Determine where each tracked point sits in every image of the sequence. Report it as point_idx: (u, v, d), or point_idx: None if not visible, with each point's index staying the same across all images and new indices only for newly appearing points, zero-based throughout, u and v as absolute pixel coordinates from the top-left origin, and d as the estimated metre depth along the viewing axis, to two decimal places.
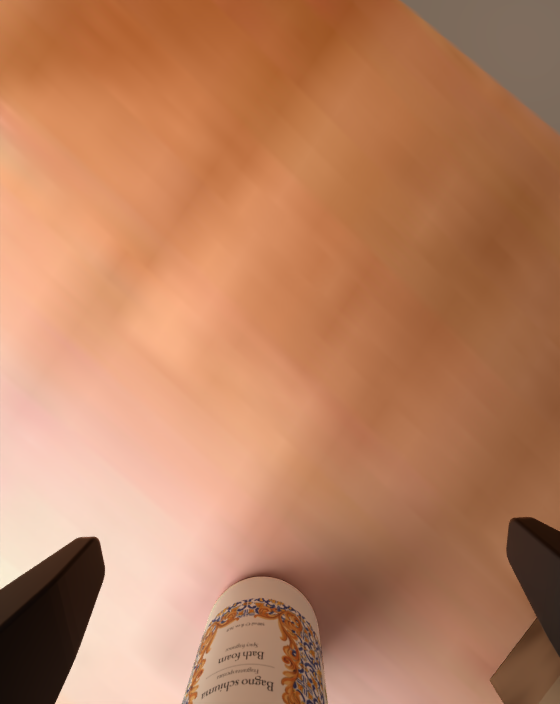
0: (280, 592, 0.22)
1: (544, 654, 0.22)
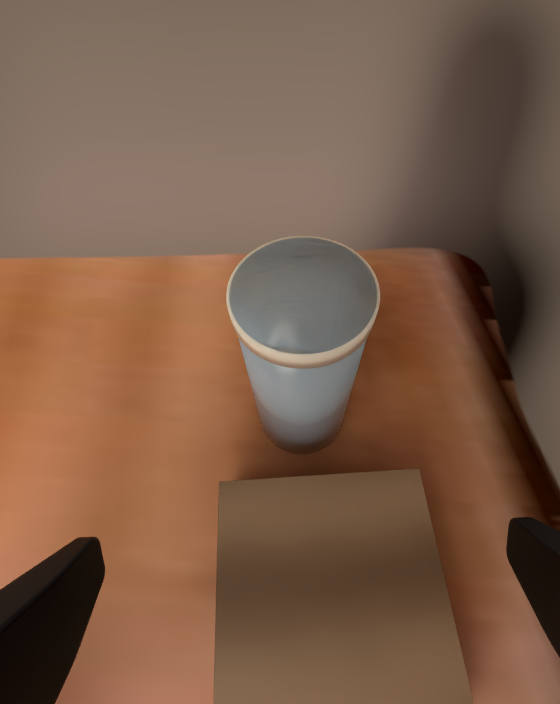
0: None
1: None
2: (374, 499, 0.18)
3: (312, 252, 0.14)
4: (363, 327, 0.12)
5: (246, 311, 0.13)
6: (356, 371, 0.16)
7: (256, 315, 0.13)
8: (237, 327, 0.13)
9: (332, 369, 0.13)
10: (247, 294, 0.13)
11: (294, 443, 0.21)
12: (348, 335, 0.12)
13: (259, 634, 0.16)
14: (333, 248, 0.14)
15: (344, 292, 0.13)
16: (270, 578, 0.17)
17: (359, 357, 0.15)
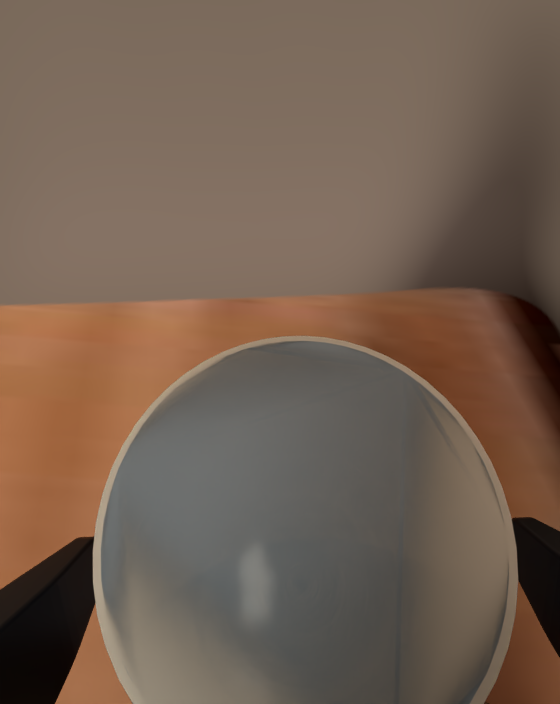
0: None
1: None
2: None
3: (321, 382, 0.06)
4: (485, 658, 0.04)
5: (141, 584, 0.05)
6: None
7: (169, 599, 0.05)
8: (108, 649, 0.04)
9: None
10: (152, 517, 0.05)
11: None
12: (444, 696, 0.04)
13: None
14: (370, 370, 0.06)
15: (413, 513, 0.05)
16: None
17: None
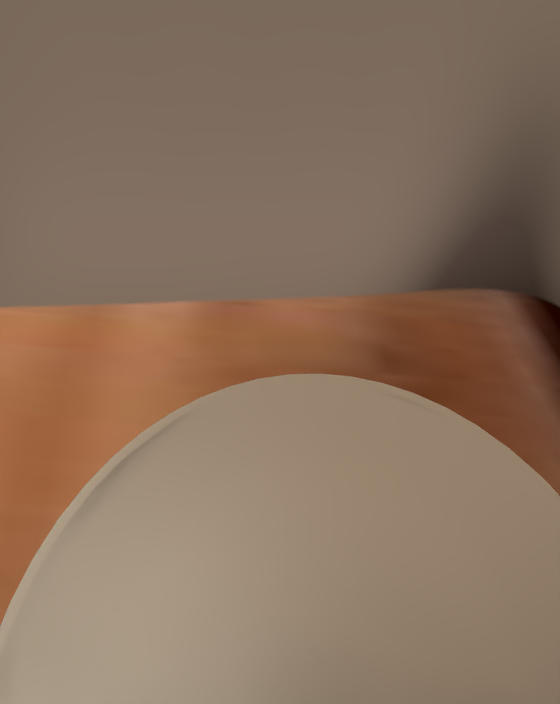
0: None
1: None
2: None
3: (348, 451, 0.04)
4: None
5: None
6: None
7: None
8: None
9: None
10: (68, 701, 0.03)
11: None
12: None
13: None
14: (423, 431, 0.04)
15: None
16: None
17: None
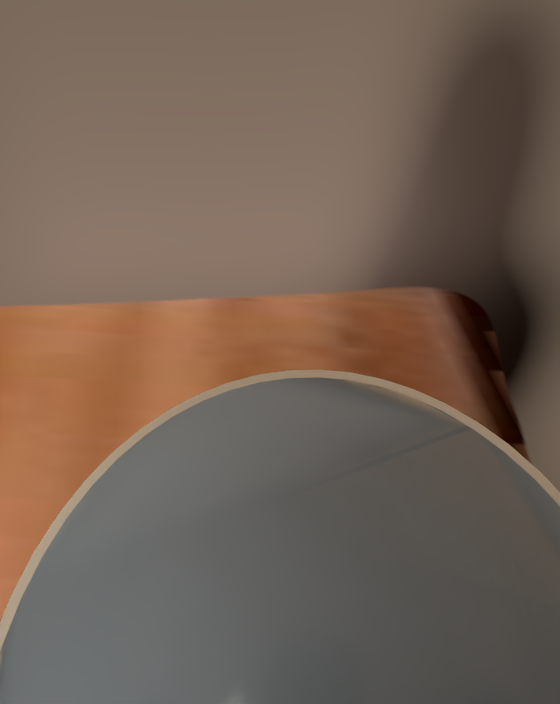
0: None
1: None
2: None
3: (347, 446, 0.04)
4: None
5: None
6: None
7: None
8: None
9: None
10: (68, 694, 0.03)
11: None
12: None
13: None
14: (422, 427, 0.04)
15: (516, 696, 0.03)
16: None
17: None
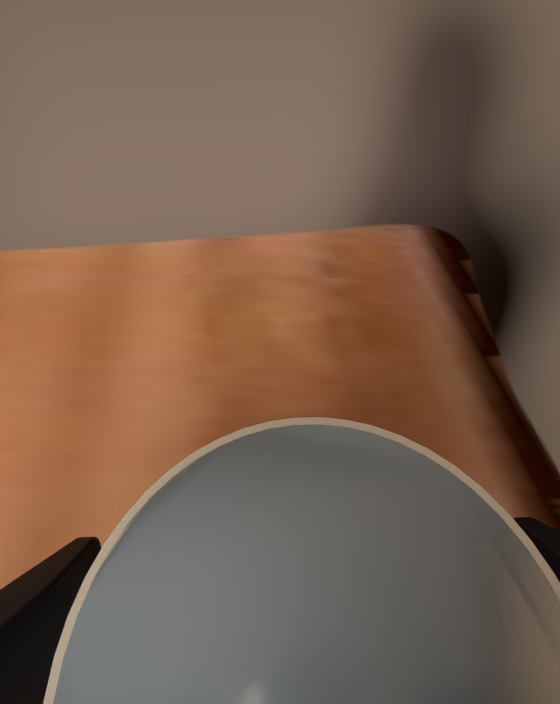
0: None
1: None
2: None
3: (344, 487, 0.05)
4: None
5: None
6: None
7: None
8: None
9: None
10: (120, 696, 0.04)
11: None
12: None
13: None
14: (408, 470, 0.05)
15: (478, 698, 0.04)
16: None
17: None
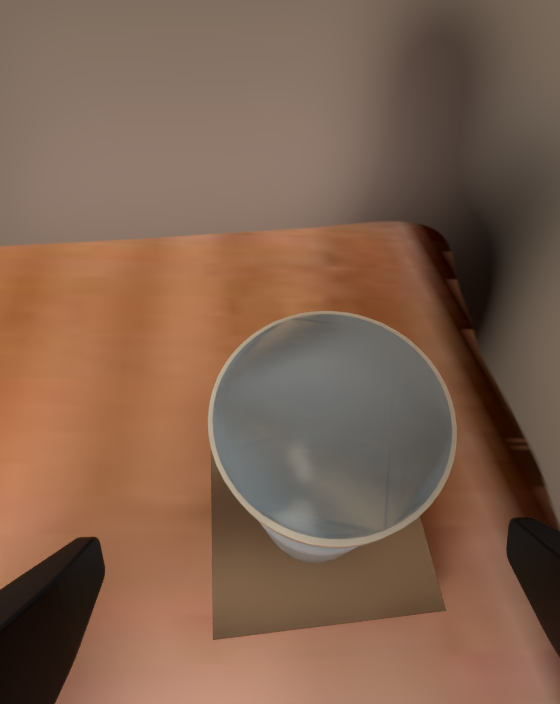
0: None
1: None
2: None
3: (341, 339, 0.09)
4: (435, 482, 0.07)
5: (239, 450, 0.08)
6: None
7: (257, 457, 0.08)
8: (225, 480, 0.08)
9: None
10: (241, 416, 0.08)
11: (307, 560, 0.16)
12: (412, 498, 0.07)
13: (250, 537, 0.18)
14: (372, 332, 0.09)
15: (398, 413, 0.08)
16: None
17: None
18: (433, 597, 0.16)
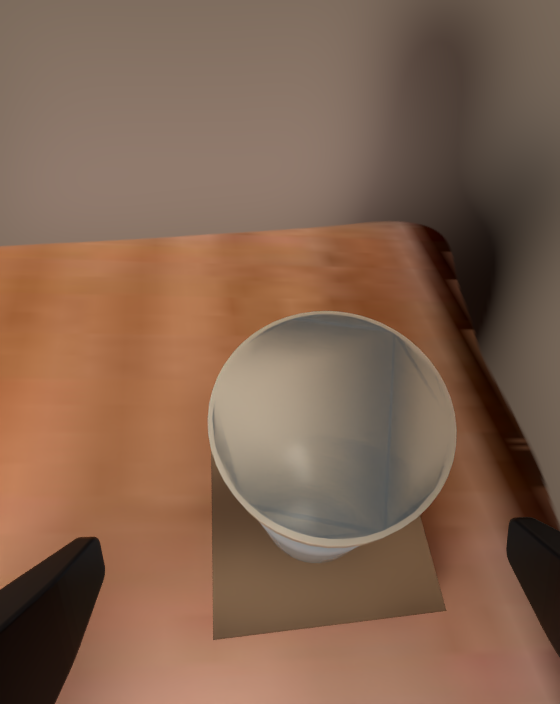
0: None
1: None
2: None
3: (340, 340, 0.09)
4: (435, 482, 0.07)
5: (240, 450, 0.08)
6: None
7: (256, 457, 0.08)
8: (224, 481, 0.08)
9: None
10: (241, 416, 0.08)
11: (308, 560, 0.16)
12: (412, 498, 0.07)
13: (251, 537, 0.18)
14: (372, 332, 0.09)
15: (397, 412, 0.08)
16: None
17: None
18: (433, 597, 0.16)
